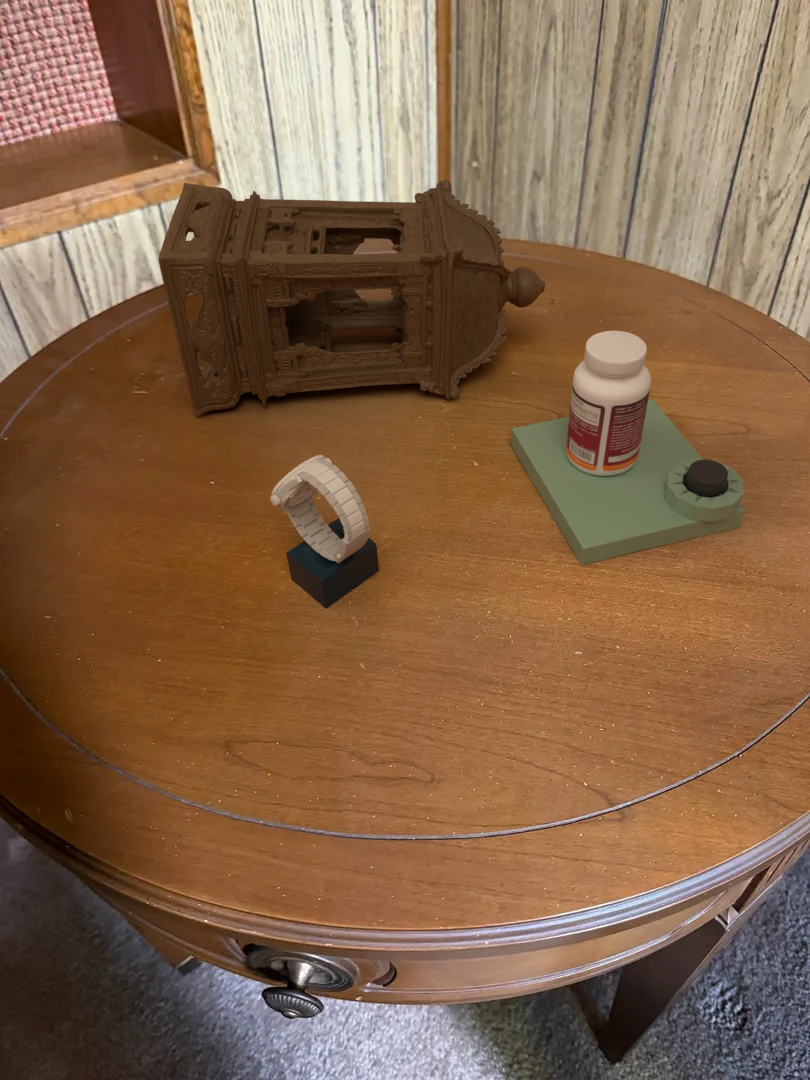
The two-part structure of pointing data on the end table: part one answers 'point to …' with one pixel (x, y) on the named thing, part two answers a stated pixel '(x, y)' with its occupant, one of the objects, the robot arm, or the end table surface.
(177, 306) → the brown lantern
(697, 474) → the button
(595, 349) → the pill bottle
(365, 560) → the watch
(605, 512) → the scale
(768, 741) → the end table surface
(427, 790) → the end table surface
